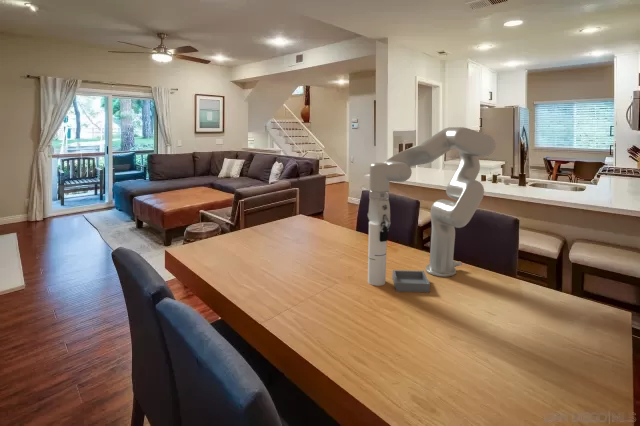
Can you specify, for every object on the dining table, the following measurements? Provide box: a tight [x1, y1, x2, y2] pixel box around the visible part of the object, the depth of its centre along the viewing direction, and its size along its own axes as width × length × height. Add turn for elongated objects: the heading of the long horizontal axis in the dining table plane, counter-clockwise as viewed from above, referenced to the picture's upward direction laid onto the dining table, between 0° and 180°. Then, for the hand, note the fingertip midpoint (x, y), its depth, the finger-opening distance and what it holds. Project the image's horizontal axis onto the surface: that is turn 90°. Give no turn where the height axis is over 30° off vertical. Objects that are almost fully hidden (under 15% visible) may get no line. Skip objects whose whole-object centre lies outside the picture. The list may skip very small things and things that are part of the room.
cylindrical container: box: [367, 221, 388, 287], centre depth 145 cm, size 7×7×25 cm
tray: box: [392, 269, 431, 293], centre depth 144 cm, size 13×13×4 cm
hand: (377, 237), depth 143 cm, fingers open, 9 cm apart
